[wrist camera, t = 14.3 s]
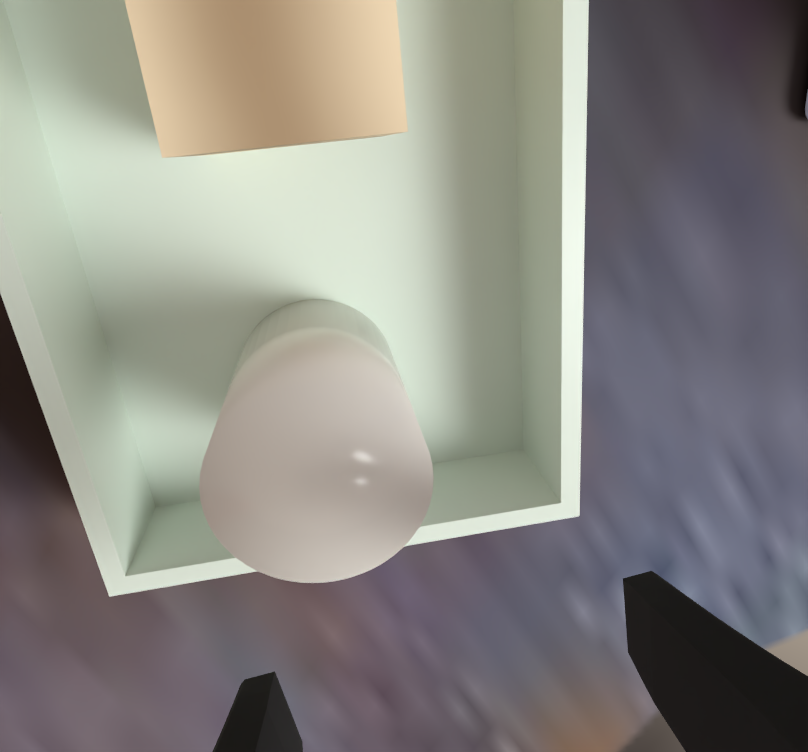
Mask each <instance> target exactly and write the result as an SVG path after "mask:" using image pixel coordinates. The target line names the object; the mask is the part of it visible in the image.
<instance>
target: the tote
mask: <svg viewBox="0 0 808 752" xmlns="http://www.w3.org/2000/svg"><path fill="white" fill-rule="evenodd" d="M396 5H397V16H398V27H399V38H400V49H401V60H402V71H403V82H404V93H405V105H406V116H407V127H408V132H403V133H398V134H392V135H387V136H381V137H372V138H363V139H353V140H344V141H335V142H325V143H316V144H307V145H297V146H288V147H279V148H269V149H260V150H251V151H241V152H232V153H223V154H213V155H203V156H186V157H168V158H162V155H161V151H160V147H159V143H158V138H157V134H156V130H155V126H154V122H153V117H152V113H151V109H150V105H149V101H148V96H147V92H146V88H145V84H144V80H143V75H142V71H141V67H140V63H139V59H138V54H137V50H136V46H135V42H134V38H133V33H132V29H131V25H130V21H129V17H128V12H127V8H126V4H125V0H0V294H1V297H2V300H3V302H4V305H5V308H6V311H7V313H8V316H9V319H10V322H11V325H12V327H13V330H14V333H15V336H16V338H17V341H18V344H19V347H20V350H21V352H22V355H23V358H24V361H25V363H26V366H27V369H28V372H29V375H30V377H31V380H32V383H33V386H34V388H35V391H36V394H37V397H38V400H39V402H40V405H41V408H42V411H43V413H44V416H45V419H46V422H47V425H48V427H49V430H50V433H51V436H52V438H53V441H54V444H55V447H56V450H57V452H58V455H59V458H60V461H61V463H62V466H63V469H64V472H65V474H66V477H67V480H68V483H69V486H70V488H71V491H72V494H73V497H74V499H75V502H76V505H77V508H78V511H79V513H80V516H81V519H82V522H83V524H84V527H85V530H86V533H87V536H88V538H89V541H90V544H91V547H92V549H93V552H94V555H95V558H96V561H97V563H98V566H99V569H100V572H101V574H102V577H103V580H104V583H105V586H106V588H107V591H108V594H109V597H110V596H115V595H121V594H127V593H133V592H139V591H145V590H150V589H156V588H162V587H168V586H174V585H180V584H186V583H191V582H197V581H203V580H209V579H215V578H221V577H226V576H232V575H238V574H244V573H250V572H256V571H257V570H255V569H253V568H251V567H249V566H247V565H245V564H244V563H243V562H241V561H240V560H238V559H237V558H236V557H234V556H233V555H232V554H231V553H230V552H229V551H228V550H227V549H226V548H224V546H223V545H222V544H221V543H220V541H219V540H218V539H217V538H216V536H215V535H214V533H213V532H212V530H211V528H210V527H209V525H208V522H207V520H206V518H205V515H204V513H203V509H202V505H201V501H200V491H199V481H200V471H201V467H202V462H203V458H204V456H205V453H206V450H207V447H208V445H209V442H210V439H211V436H212V433H213V431H214V428H215V425H216V422H217V419H218V417H219V414H220V411H221V408H222V405H223V403H224V400H225V397H226V394H227V392H228V389H229V386H230V383H231V380H232V378H233V375H234V372H235V369H236V366H237V364H238V361H239V358H240V355H241V353H242V350H243V347H244V345H245V342H246V340H247V339H248V337H249V335H250V333H251V332H252V331H253V330H254V328H255V327H256V326H257V325H258V324H259V323H260V322H261V321H262V320H263V319H264V318H265V317H266V316H268V315H269V314H270V313H272V312H273V311H275V310H277V309H279V308H281V307H283V306H285V305H288V304H290V303H294V302H298V301H303V300H311V299H323V300H330V301H335V302H339V303H343V304H345V305H348V306H350V307H353V308H354V309H356V310H358V311H360V312H361V313H363V314H364V315H365V316H367V317H368V318H369V319H370V320H371V321H372V322H373V323H374V324H375V325H376V326H377V327H378V328H379V329H380V331H381V332H382V333H383V335H384V337H385V339H386V340H387V342H388V345H389V347H390V350H391V352H392V355H393V358H394V360H395V363H396V366H397V368H398V371H399V373H400V376H401V379H402V381H403V384H404V387H405V389H406V392H407V394H408V397H409V400H410V402H411V405H412V408H413V410H414V413H415V416H416V418H417V421H418V423H419V426H420V429H421V431H422V434H423V437H424V439H425V442H426V445H427V447H428V450H429V452H430V457H431V461H432V465H433V477H434V480H433V492H432V497H431V501H430V505H429V508H428V510H427V513H426V516H425V518H424V520H423V521H422V523H421V525H420V527H419V528H418V530H417V531H416V533H415V534H414V536H413V537H412V538H411V539H410V540H409V541H408V543H407V544H406V545H405V546H408V545H414V544H419V543H425V542H431V541H437V540H443V539H449V538H455V537H460V536H466V535H472V534H478V533H484V532H490V531H496V530H501V529H507V528H513V527H519V526H525V525H531V524H536V523H542V522H548V521H554V520H560V519H566V518H572V517H577V516H579V510H580V455H581V399H582V344H583V288H584V233H585V177H586V122H587V66H588V11H589V0H396Z"/></svg>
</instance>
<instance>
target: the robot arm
mask: <svg viewBox="0 0 808 752" xmlns="http://www.w3.org/2000/svg"><path fill="white" fill-rule="evenodd" d="M805 115H806V117H807V119H808V91H807V98H806V105H805ZM623 585H624V600H625V614H626V628H627V643H628V653H629V655H630V657H631V659H632V661H633V663H634V665H635V667H636V669H637V671H638V673H639V675H640V677H641V679H642V681H643V682H644V684H645V686H646V688H647V690H648V692H649V694H650V696H651V698H652V700H653V701H654V703H655V705H656V706H657V708H658V709H659V711H660V713H661V714H662V716H663V717H664V719H665V720H666V722H667V723H668V725H669V726H670V728H671V729H672V731H673V733H674V734H675V736H676V737H677V739H678V740H679V742H680V743H681V745H682V746H683V748H684V749H685V751H686V752H808V676H806V675H805V674H803V673H801V672H800V671H798V670H797V669H795V668H793V667H792V666H790V665H788V664H787V663H785V662H783V661H782V660H780V659H779V658H777V657H776V656H774V655H772V654H771V653H769V652H768V651H766V650H765V649H763V648H761V647H760V646H758V645H757V644H755V643H754V642H752V641H751V640H749V639H748V638H746V637H745V636H743V635H742V634H740V633H739V632H737V631H736V630H734V629H733V628H731V627H730V626H728V625H727V624H726V623H724V622H723V621H721V620H720V619H718V618H717V617H715V616H714V615H713V614H711V613H710V612H708V611H707V610H706V609H704V608H703V607H701V606H700V605H699V604H697V603H696V602H694V601H693V600H692V599H690V598H689V597H687V596H686V595H685V594H683V593H682V592H680V591H679V590H678V589H676V588H675V587H674V586H672V585H671V584H669V583H668V582H667V581H665V580H664V579H663V578H661V577H660V576H658V575H657V574H655V573H654V572H652V571H650V572H646V573H642V574H638V575H635V576H631V577H627V578H623ZM213 752H303V747H302V740H301V737H300V735H299V732H298V730H297V727H296V724H295V722H294V719H293V717H292V714H291V712H290V709H289V707H288V704H287V701H286V699H285V696H284V694H283V691H282V689H281V686H280V684H279V681H278V678H277V676H276V673H275V672H272V673H268V674H264V675H260V676H257V677H253V678H249V679H245V680H244V681H243V683H242V684H241V685H240V688H239V690H238V693H237V695H236V698H235V700H234V703H233V705H232V708H231V710H230V712H229V715H228V717H227V720H226V722H225V724H224V727H223V729H222V731H221V734H220V736H219V738H218V741H217V743H216V745H215V747H214V750H213Z"/></svg>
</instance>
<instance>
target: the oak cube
mask: <svg viewBox="0 0 808 752" xmlns="http://www.w3.org/2000/svg"><path fill="white" fill-rule="evenodd" d="M125 4H126V8H127V12H128V17H129V21H130V25H131V29H132V33H133V38H134V42H135V46H136V50H137V54H138V59H139V63H140V67H141V71H142V75H143V80H144V84H145V88H146V92H147V96H148V101H149V105H150V109H151V113H152V117H153V122H154V126H155V130H156V134H157V138H158V143H159V147H160V151H161V155H162V158H168V157H186V156H203V155H213V154H223V153H232V152H241V151H251V150H260V149H269V148H279V147H288V146H297V145H307V144H316V143H325V142H335V141H344V140H353V139H363V138H372V137H381V136H387V135H392V134H398V133H403V132H408V127H407V116H406V105H405V93H404V82H403V71H402V60H401V49H400V38H399V27H398V16H397V5H396V0H125Z"/></svg>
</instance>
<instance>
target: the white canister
mask: <svg viewBox="0 0 808 752" xmlns="http://www.w3.org/2000/svg"><path fill="white" fill-rule="evenodd" d="M433 480H434V477H433V465H432V461H431V457H430V452H429V450H428V447H427V445H426V442H425V439H424V437H423V434H422V431H421V429H420V426H419V423H418V421H417V418H416V416H415V413H414V410H413V408H412V405H411V402H410V400H409V397H408V394H407V392H406V389H405V387H404V384H403V381H402V379H401V376H400V373H399V371H398V368H397V366H396V363H395V360H394V358H393V355H392V352H391V350H390V347H389V345H388V342H387V340H386V339H385V337H384V335H383V333H382V332H381V331H380V329H379V328H378V327H377V326H376V325H375V324H374V323H373V322H372V321H371V320H370V319H369V318H368V317H367V316H365V315H364V314H363V313H361V312H360V311H358V310H356V309H354V308H353V307H350V306H348V305H345V304H343V303H339V302H335V301H330V300H323V299H311V300H303V301H298V302H294V303H290V304H288V305H285V306H283V307H281V308H279V309H277V310H275V311H273V312H272V313H270V314H269V315H268V316H266V317H265V318H264V319H263V320H262V321H261V322H260V323H259V324H258V325H257V326H256V327H255V328H254V330H253V331H252V332H251V333H250V335H249V337H248V339H247V340H246V342H245V345H244V347H243V350H242V353H241V355H240V358H239V361H238V364H237V366H236V369H235V372H234V375H233V378H232V380H231V383H230V386H229V389H228V392H227V394H226V397H225V400H224V403H223V405H222V408H221V411H220V414H219V417H218V419H217V422H216V425H215V428H214V431H213V433H212V436H211V439H210V442H209V445H208V447H207V450H206V453H205V456H204V458H203V462H202V467H201V471H200V481H199V491H200V501H201V505H202V509H203V513H204V515H205V518H206V520H207V522H208V525H209V527H210V528H211V530H212V532H213V533H214V535H215V536H216V538H217V539H218V540H219V541H220V543H221V544H222V545H223V546H224V548H226V549H227V550H228V551H229V552H230V553H231V554H232V555H233V556H234V557H236V558H237V559H238V560H240V561H241V562H243V563H244V564H245V565H247V566H249V567H251V568H253V569H255V570H257V571H258V572H261V573H264V574H266V575H269V576H271V577H275V578H279V579H282V580H287V581H293V582H302V583H322V582H332V581H338V580H343V579H346V578H350V577H354V576H357V575H359V574H362V573H364V572H367V571H369V570H371V569H373V568H375V567H377V566H379V565H381V564H382V563H384V562H385V561H387V560H388V559H390V558H391V557H393V556H394V555H395V554H396V553H397V552H398V551H400V550H401V549H402V548H403V547H404V546H405V545H406V544H407V543H408V541H409V540H410V539H411V538H412V537H413V536H414V534H415V533H416V531H417V530H418V528H419V527H420V525H421V523H422V521H423V520H424V518H425V516H426V513H427V510H428V508H429V505H430V501H431V497H432V492H433Z"/></svg>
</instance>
